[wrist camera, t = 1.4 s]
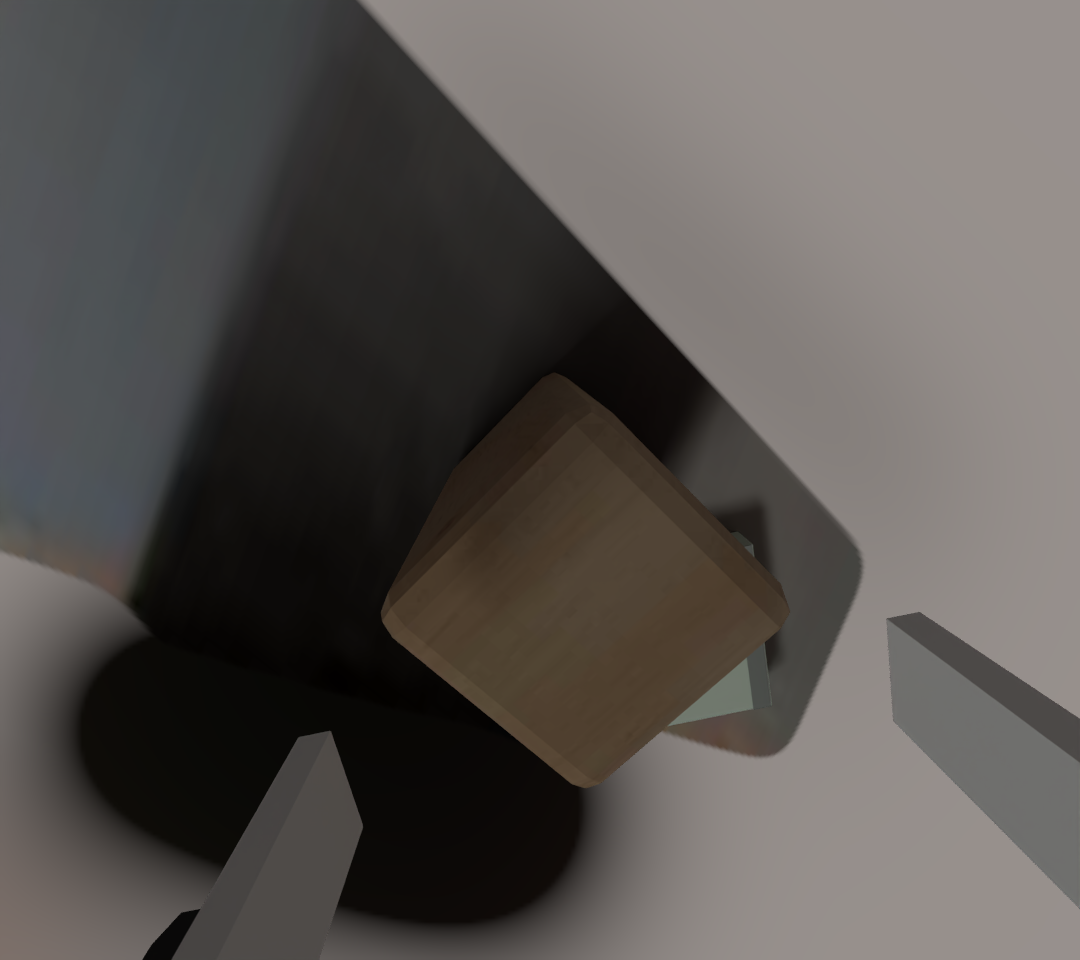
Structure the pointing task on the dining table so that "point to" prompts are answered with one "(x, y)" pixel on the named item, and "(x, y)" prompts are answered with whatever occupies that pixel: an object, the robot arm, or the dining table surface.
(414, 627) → the wooden block
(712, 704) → the dock
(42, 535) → the dining table surface
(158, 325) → the dining table surface
